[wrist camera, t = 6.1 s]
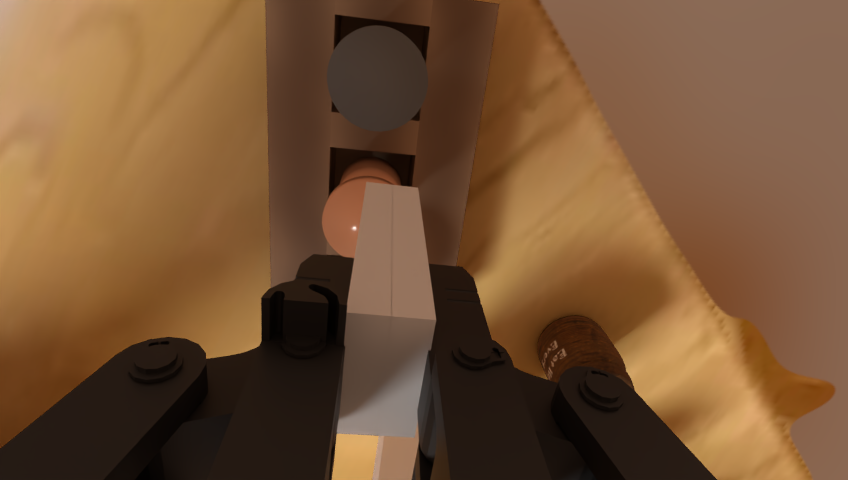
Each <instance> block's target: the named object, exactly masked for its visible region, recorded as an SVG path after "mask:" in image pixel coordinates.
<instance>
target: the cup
mask: <svg viewBox="0 0 848 480" xmlns="http://www.w3.org/2000/svg"><path fill="white" fill-rule="evenodd" d="M418 443H419V434H418V422H417V428H416V433H415V438H412V437H394V436H379V438H378V445H377V451H376V458H375V465H374V472H373V478H372V480H412V475H413V470H414V464H415V459H416V454H417V449H418Z"/></svg>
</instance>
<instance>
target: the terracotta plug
mask: <svg viewBox="0 0 848 480" xmlns="http://www.w3.org/2000/svg"><path fill="white" fill-rule="evenodd" d="M366 182H373V183H381V184H390V185H399V186H401V180H400V177H399V174H398V172H397V171H396V169H395V168H394V167H393V166H392V165H391V164H390V163H389V162H387V161H385V160H383V159H381V158H378V157H362V158H359V159H357V160H355V161H353V162H352V163H350V164H349V165H348V166H347V167H346V169H345V170H344V172H343V174H342V176H341V180H340V184H339V185H338V186H337V187H336V188H335V189H334V190H333V192H332V193H331V194H330V196H329V197H328V199H327V202H326V204H325V207H324V211H323V215H322V227H323V232H324V235H325V237H326V239H327V241H328V243H329V244H330V246H331V247H332V248H333V249H334V250H335V251H336V252H337V253H339V254H340V255H341V256H343V257H350V258H354V257H355V251H356V245H357V238H358V232H359V226H360V219H361V213H362V207H363V200H364V194H365V188H366Z"/></svg>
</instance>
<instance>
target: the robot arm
mask: <svg viewBox="0 0 848 480" xmlns="http://www.w3.org/2000/svg"><path fill="white" fill-rule="evenodd" d="M261 309H262V341H261V344H260V346H258V347H257V348H255V349H252V350H250V351H247V352H244V353H240V354H235V355H231V356H224V357H217V358H210V359H206V353H205V351H204V350H203V349H202V348H201V347H200V345H199V344H197V343H194V342H192V341H190V340H187V339H183V338H173V337H165V338H157V339H150V340H147V341H144V342H141V343H138V344H135V345H132V346H130V347H128V348H127V349H125V350H123V351H122V352H120V353H118V354H117V355H115V356H114V357H113V358H112V359H110V360H109V361H108V362H107V363H106V364H104V365H103V366H102V367H101V368H99V369H98V370H97V371H96V372H94V373H93V374H92V375H91V376H89V377H88V378H87V379H86V380H85V381H83V382H82V383H81V384H80V385H78V386H77V387H76V388H75V389H73V390H72V391H71V392H70V393H68V394H67V395H66V396H65V397H64V398H62V399H61V400H60V401H59V402H57V403H56V404H55V405H54V406H52V407H51V408H50V409H49V410H48V411H46V412H45V413H44V414H43V415H41V416H40V417H39V418H38V419H36V420H35V421H34V422H33V423H31V424H30V425H29V426H28V427H27V428H25V429H24V430H23V431H22V432H20V433H19V434H18V435H17V436H15V437H14V438H13V439H12V440H11V441H9V442H8V443H7V444H6V445H4V446H3V447H2V448H1V449H0V480H332V472H333V464H334V455H335V444H336V434H337V433H340V434H358V435H376V436H394V437H412V438H415V433H416V428H417V422H418V434H419V443H418V449H417V454H416V459H415V464H414V470H413V475H412V480H717V479H716V478H715V477H714V476H713V475H712V474H711V473H710V472H709V471H708V469H707V468H706V467H705V466H704V465H703V464H702V463H701V462H700V461H699V460H698V459H697V458H696V457H695V455H694V454H693V453H692V452H691V451H690V450H689V449H688V448H687V447H686V446H685V445H684V444H683V443H682V441H681V440H680V439H679V438H678V437H677V436H676V435H675V434H674V433H673V432H672V431H671V430H670V429H669V427H668V426H667V425H666V424H665V423H664V422H663V421H662V420H661V419H660V418H659V417H658V416H657V415H656V413H655V412H654V411H653V410H652V409H651V408H650V407H649V406H648V405H647V404H646V403H645V402H644V401H643V399H642V398H641V397H640V396H639V395H638V394H637V393H636V392H635V391H634V390H633V389H632V388H631V387H630V386H629V385H627V384H626V383H625V382H624V381H623V380H621V379H620V378H618V377H616V376H614V375H612V374H611V373H609V372H607V371H604V370H601V369H597V368H594V367H587V366H576V367H572V368H569V369H566V370H565V371H564V372H563V373H562V375H561V376H560V378H559V381H558V383H556V382H553V381H550V380H546V379H543V378H540V377H536V376H533V375H530V374H528V373H525V372H523V371H520V370H519V369H517V368H515V367H514V366H513V363H512V360H511V358H510V356H509V354H508V353H507V351H506V350H505V349H504V348H503V347H502V346H501V345H499V344H498V343H497V342H496V341H494V340H492V338H491V335H490V332H489V328H488V325H487V322H486V318H485V315H484V312H483V308H482V305H481V304H480V298H479V295H478V294H477V288H476V285H475V281H474V278H473V277H472V276H471V275H470V274H469V273H468V272H467V271H466V270H465V269H464V268H463V267H459V266H448V265H438V264H428V256H427V249H426V242H425V235H424V227H423V220H422V213H421V205H420V198H419V191H418V188H416V187H407V186H399V185H390V184H381V183H373V182H366V188H365V194H364V200H363V207H362V213H361V219H360V226H359V232H358V238H357V245H356V251H355V257H354V258H350V257H340V256H329V255H319V254H313V255H311V256H310V257H309V258H307V259H306V260H305V261H303V262H302V263H301V264H300V266H299V269H298V271H297V274H296V278H295V279H294V280H293V281H289V282H284V283H280V284H278V285H276V286H274V287H272V288H270V289H269V290H268V291H267V292H266V293H265V294H264V295H263V297H262V298H261Z"/></svg>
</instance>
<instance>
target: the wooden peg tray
mask: <svg viewBox="0 0 848 480" xmlns="http://www.w3.org/2000/svg"><path fill="white" fill-rule="evenodd" d="M265 5H266V56H267V108H268V159H269V211H270V262H271V288H272V287H274V286H276V285H278V284H280V283H284V282H289V281H293V280H294V279H295V278H296V274H297V271H298V269H299V266H300V264H301V263H302V262H303V261H305V260H306V259H307V258H309V257H310V256H311V255H313V254H319V255H329V256H340V257H343V256H341V255H340V254H339V253H337V252H336V251H335V250H334V249H333V248H332V247H331V246H330V244H329V243H328V241H327V239H326V237H325V235H324V232H323V227H322V215H323V211H324V207H325V204H326V202H327V199H328V197H329V196H330V194H331V193H332V192H333V190H334V189H335V188H336V187H337V186H338V185H339V184H340V180H341V176H342V174H343V172H344V170H345V169H346V167H347V166H348V165H349V164H350V163H352V162H353V161H355V160H357V159H359V158H362V157H378V158H381V159H383V160H385V161H387V162H389V163H390V164H391V165H392V166H393V167H394V168H395V169H396V171H397V172H398V174H399V177H400V180H401V186H407V187H416V188H418V191H419V198H420V205H421V213H422V220H423V227H424V235H425V242H426V249H427V256H428V264H438V265H448V266H456V264H457V258H458V252H459V246H460V240H461V234H462V228H463V222H464V216H465V209H466V203H467V197H468V191H469V185H470V179H471V173H472V167H473V161H474V155H475V148H476V142H477V136H478V130H479V124H480V118H481V112H482V106H483V100H484V94H485V87H486V81H487V75H488V69H489V63H490V57H491V51H492V45H493V39H494V33H495V26H496V20H497V14H498V8H499V4H495V3H488V2H481V1H473V0H265ZM375 25H376V26H385V27H390V28H393V29H395V30H397V31H399V32H401V33H403V34H404V35H405V36H407V37H408V38H409V39H410V40H411V41H412V42H413V43H414V44H415V45H416V46H417V48H418V49H419V51H420V52H421V54H422V56H423V58H424V61H425V64H426V67H427V72H428V88H427V94H426V97H425V100H424V102H423V104H422V106H421V108H420V109H419V111H418V112H417V114H416V115H415V116H414V117H413V118H412V119H411V120H410V121H408V122H407V123H406V124H404V125H402V126H400V127H398V128H396V129H393V130H389V131H370V130H366V129H362V128H360V127H358V126H356V125H354V124H352V123H351V122H349V121H348V120H347V119H346V118H344V116H343V115H342V114H341V113H340V112H339V111H338V110H337V108H336V107H335V105H334V103H333V101H332V99H331V97H330V94H329V90H328V85H327V69H328V64H329V60H330V58H331V55H332V53H333V51H334V49H335V48H336V46H337V45H338V44H339V42H340V41H341V40H342V39H343V38H344V37H346V36H347V35H348V34H350V33H352V32H353V31H355V30H357V29H360V28H363V27H367V26H375Z"/></svg>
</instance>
